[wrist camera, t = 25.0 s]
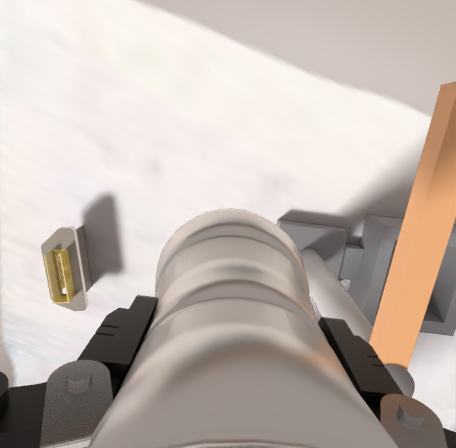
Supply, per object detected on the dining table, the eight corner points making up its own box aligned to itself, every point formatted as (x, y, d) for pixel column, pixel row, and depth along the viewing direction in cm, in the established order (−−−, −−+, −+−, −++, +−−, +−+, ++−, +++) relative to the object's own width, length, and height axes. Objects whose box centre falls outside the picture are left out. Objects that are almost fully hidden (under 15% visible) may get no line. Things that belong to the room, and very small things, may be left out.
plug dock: (429, 313, 45) (594, 464, 24) (265, 294, 44) (295, 432, 24) (456, 225, 42) (671, 313, 21) (280, 203, 41) (330, 273, 21)
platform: (47, 320, 46) (18, 351, 39) (20, 186, 41) (-18, 196, 35) (136, 317, 46) (121, 347, 39) (120, 182, 41) (100, 191, 35)
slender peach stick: (426, 83, 18) (447, 78, 16) (486, 92, 18) (514, 88, 16) (344, 387, 22) (354, 408, 21) (392, 393, 22) (406, 414, 21)
